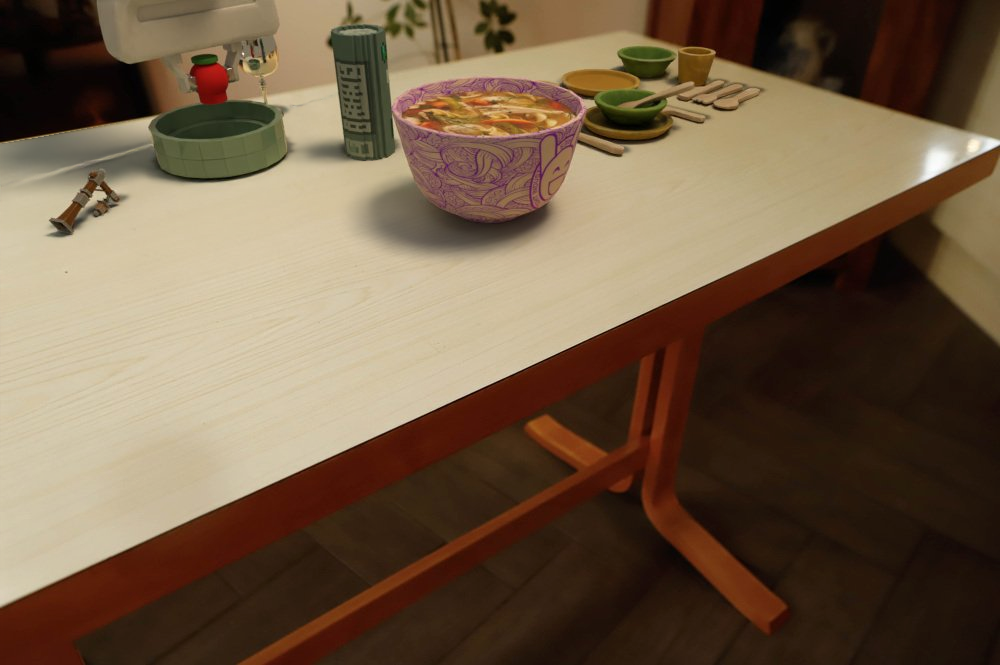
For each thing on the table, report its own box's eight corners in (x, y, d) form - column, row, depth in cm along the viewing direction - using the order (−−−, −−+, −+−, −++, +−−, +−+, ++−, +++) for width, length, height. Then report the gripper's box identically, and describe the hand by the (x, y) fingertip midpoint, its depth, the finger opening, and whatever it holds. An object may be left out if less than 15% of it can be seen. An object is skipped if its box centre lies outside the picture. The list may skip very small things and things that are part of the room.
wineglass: (294, 117, 105) (280, 30, 98) (255, 125, 102) (238, 36, 96) (280, 107, 109) (265, 23, 102) (242, 114, 106) (225, 28, 100)
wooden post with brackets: (129, 194, 81) (105, 164, 77) (87, 249, 77) (60, 221, 73) (116, 191, 81) (91, 162, 77) (74, 246, 77) (46, 218, 74)
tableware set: (615, 161, 92) (620, 112, 88) (466, 111, 108) (465, 68, 104) (772, 93, 116) (781, 52, 112) (631, 61, 132) (635, 24, 128)
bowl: (137, 159, 92) (125, 120, 89) (245, 128, 101) (238, 92, 99) (200, 193, 83) (190, 151, 80) (312, 156, 93) (306, 117, 90)
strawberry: (188, 101, 88) (177, 57, 85) (220, 93, 91) (211, 50, 88) (207, 108, 86) (196, 64, 83) (239, 100, 88) (230, 56, 85)
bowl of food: (600, 241, 74) (611, 131, 67) (404, 256, 71) (395, 143, 65) (556, 167, 90) (561, 72, 83) (395, 177, 87) (387, 80, 81)
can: (402, 146, 96) (392, 26, 87) (379, 162, 91) (366, 37, 83) (362, 140, 98) (349, 22, 89) (338, 155, 93) (321, 33, 84)
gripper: (248, -53, 87) (269, 64, 95) (75, -34, 75) (116, 100, 83) (278, -49, 84) (297, 73, 92) (102, -27, 71) (142, 112, 79)
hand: (210, 86), depth 87 cm, fingers closed on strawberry, 4 cm apart
